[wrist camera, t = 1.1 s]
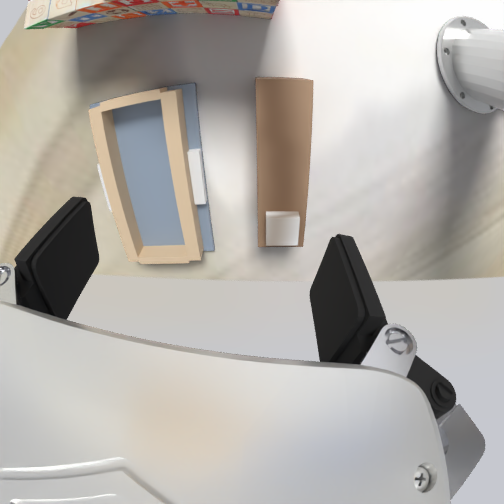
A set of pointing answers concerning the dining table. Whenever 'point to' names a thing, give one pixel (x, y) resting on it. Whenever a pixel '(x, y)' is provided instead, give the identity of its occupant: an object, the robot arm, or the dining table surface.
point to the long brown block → (283, 158)
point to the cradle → (154, 173)
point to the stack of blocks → (133, 10)
